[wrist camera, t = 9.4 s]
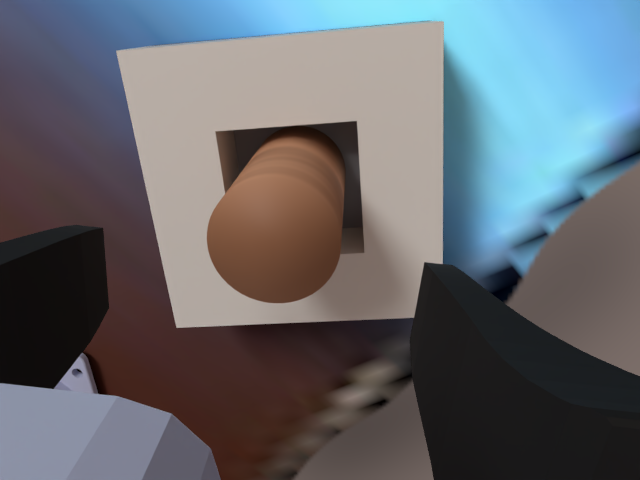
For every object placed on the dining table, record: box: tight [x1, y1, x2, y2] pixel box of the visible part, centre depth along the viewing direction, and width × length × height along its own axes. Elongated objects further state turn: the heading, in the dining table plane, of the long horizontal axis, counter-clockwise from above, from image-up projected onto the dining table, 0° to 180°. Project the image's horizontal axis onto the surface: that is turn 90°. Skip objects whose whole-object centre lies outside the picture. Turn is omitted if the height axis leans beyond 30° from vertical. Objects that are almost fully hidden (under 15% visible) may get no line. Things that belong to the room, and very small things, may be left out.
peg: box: [207, 126, 346, 303], centre depth 17 cm, size 4×4×7 cm
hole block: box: [116, 21, 444, 328], centre depth 20 cm, size 10×10×4 cm
